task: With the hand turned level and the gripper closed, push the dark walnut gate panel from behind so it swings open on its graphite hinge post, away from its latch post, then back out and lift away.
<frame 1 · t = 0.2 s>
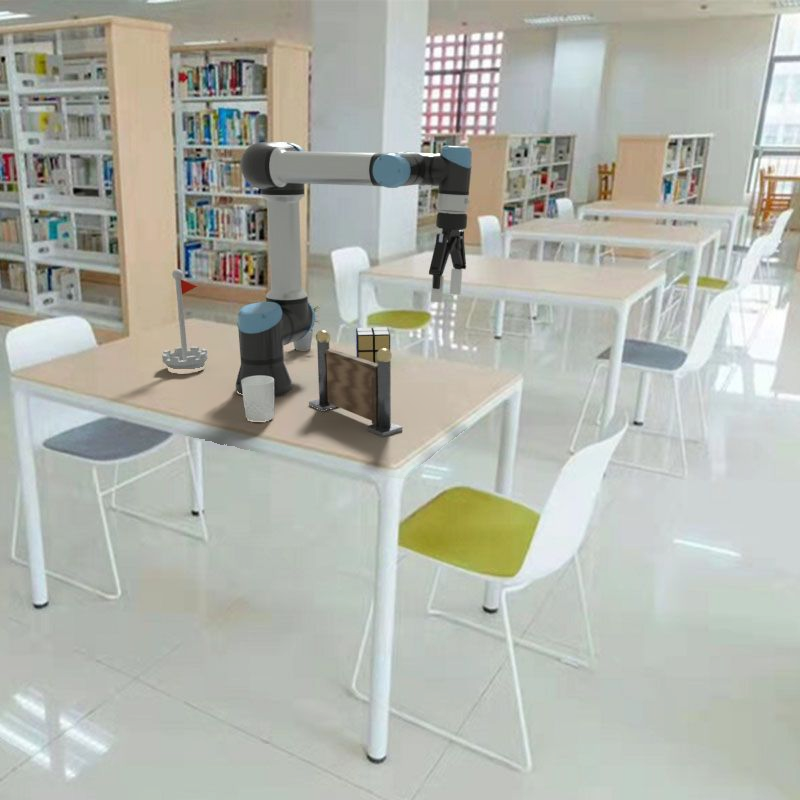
hand: (446, 297, 195), 27 cm above the table, tool pointing down, fingers open, 13 cm apart
house plant: (304, 350, 252), on the table
gate posts: (325, 405, 198), on the table
flag stand: (186, 369, 231), on the table
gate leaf: (352, 385, 187), point 8 cm above the table, hinge at 0.0°, touching gate posts
white cup: (260, 419, 189), on the table
puzzle cube: (373, 362, 239), on the table
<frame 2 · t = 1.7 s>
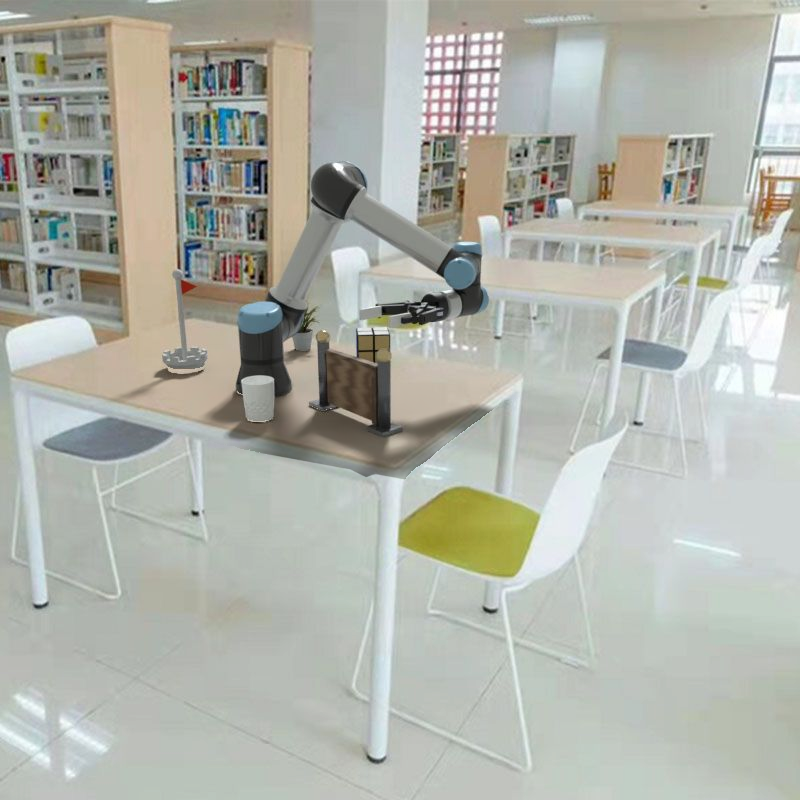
hand: (374, 318, 187), 24 cm above the table, tool horizontal, fingers open, 10 cm apart
nothing on the table moved.
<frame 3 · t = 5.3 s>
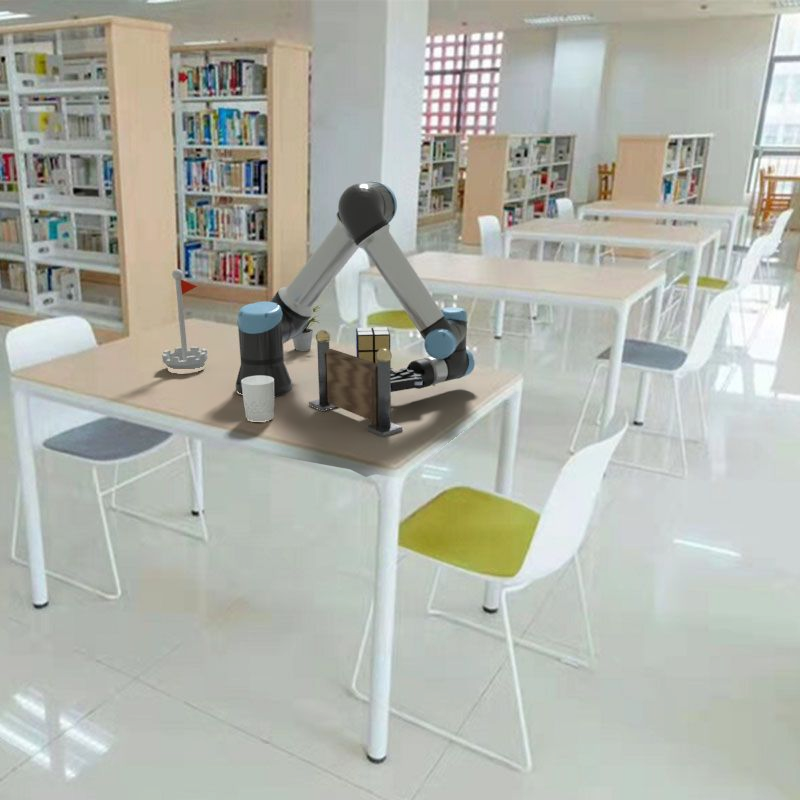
hand: (356, 390, 188), 7 cm above the table, tool horizontal, fingers closed
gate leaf: (352, 385, 187), point 8 cm above the table, hinge at 0.1°, touching gate posts, gripper
everything else where it was.
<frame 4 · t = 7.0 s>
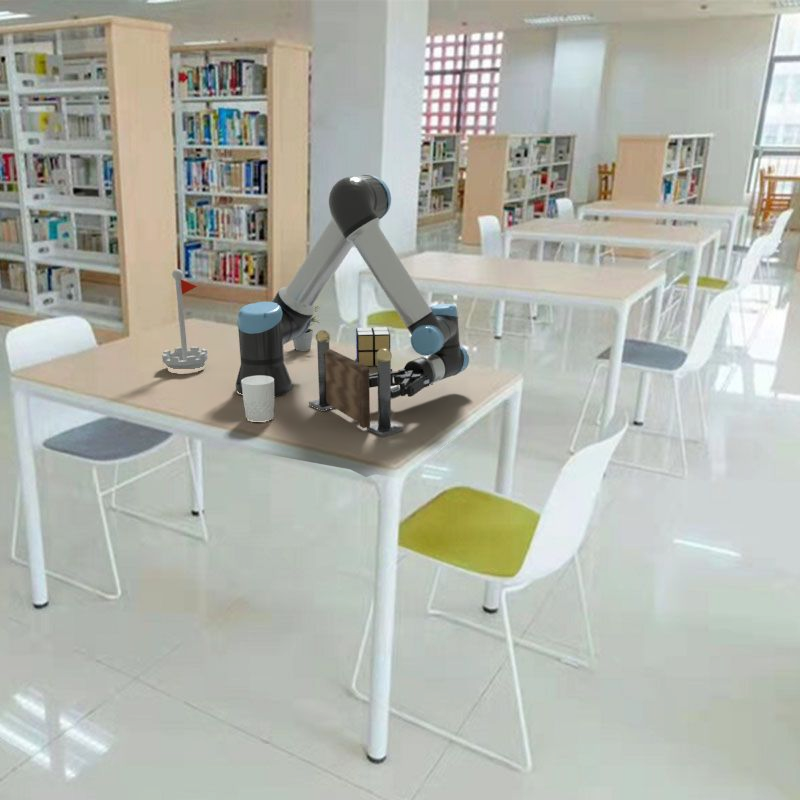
hand: (362, 394, 184), 7 cm above the table, tool horizontal, fingers open, 10 cm apart
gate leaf: (346, 387, 186), point 8 cm above the table, hinge at 9.5°, touching gripper
everything else where it was.
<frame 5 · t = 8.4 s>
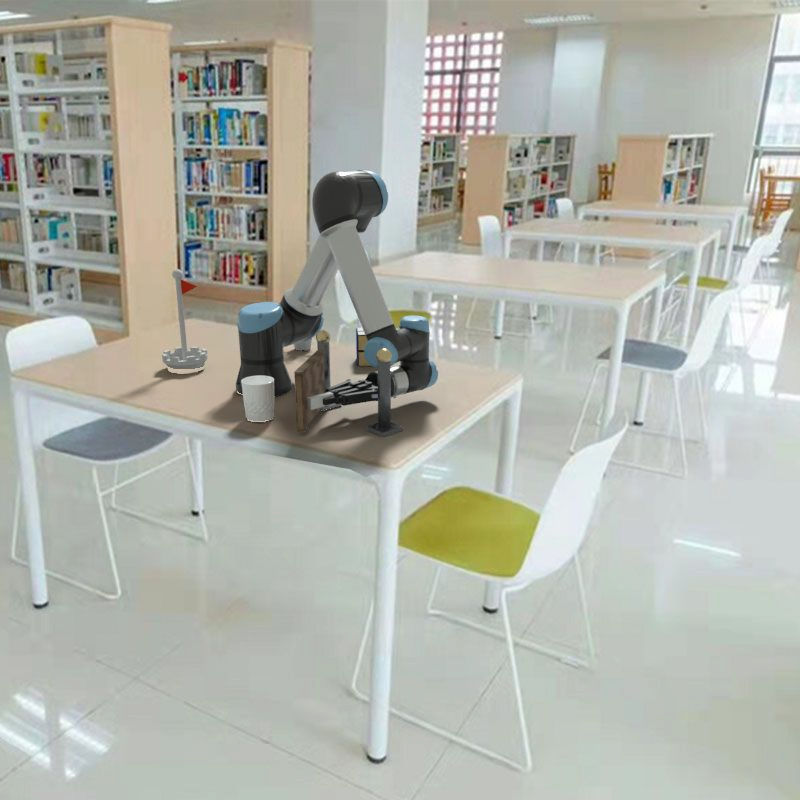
hand: (309, 403, 179), 7 cm above the table, tool horizontal, fingers closed
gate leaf: (311, 389, 185), point 8 cm above the table, hinge at 50.8°
everything else where it was.
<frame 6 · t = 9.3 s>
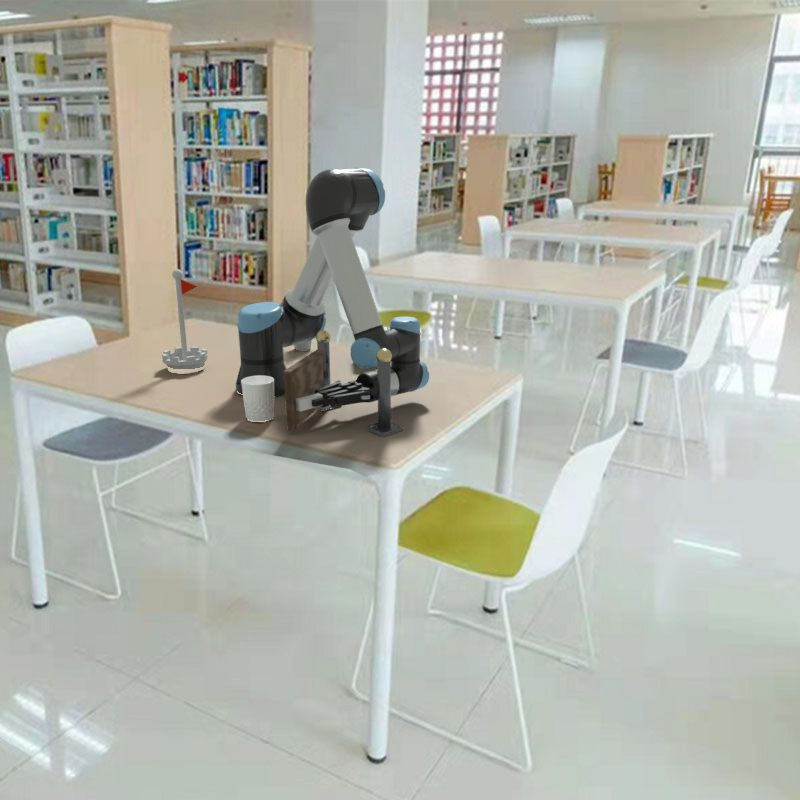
hand: (297, 405, 177), 7 cm above the table, tool horizontal, fingers closed
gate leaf: (306, 388, 185), point 8 cm above the table, hinge at 57.5°, touching gripper
everything else where it was.
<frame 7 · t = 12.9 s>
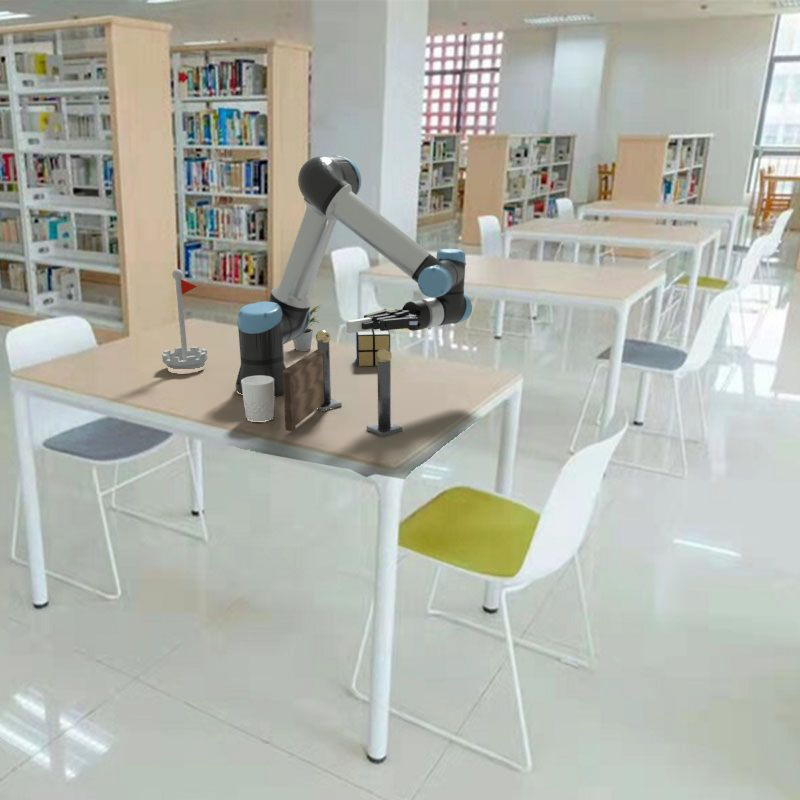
hand: (348, 327, 181), 23 cm above the table, tool horizontal, fingers closed
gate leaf: (305, 388, 185), point 8 cm above the table, hinge at 58.4°
everything else where it was.
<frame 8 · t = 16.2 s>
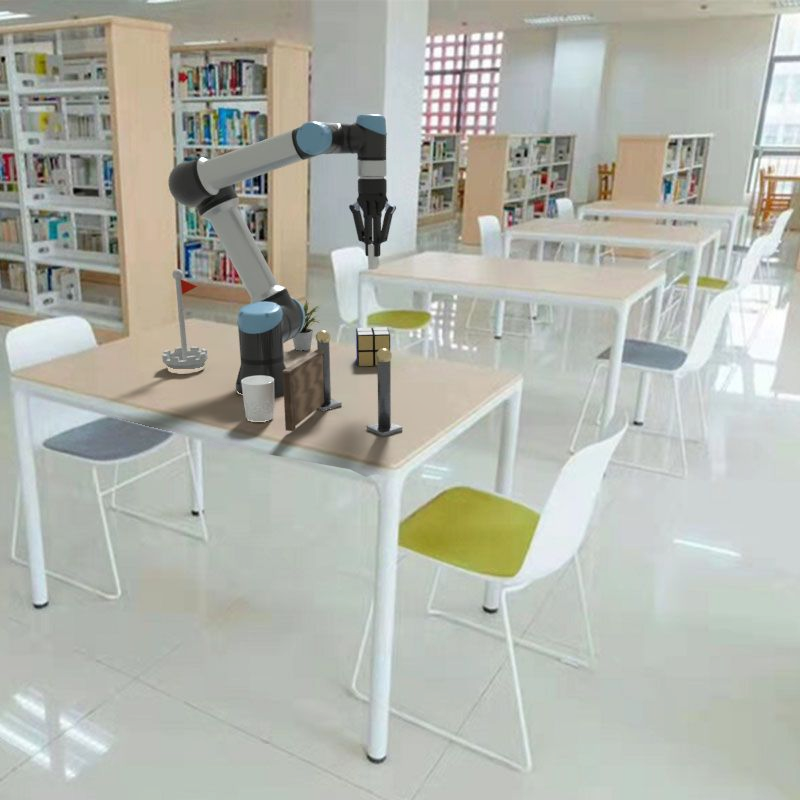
hand: (373, 268, 207), 32 cm above the table, tool pointing down, fingers closed
nothing on the table moved.
at the end: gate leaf at +58° (first picture: +0°); white cup moved 0.2 cm from its start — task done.
